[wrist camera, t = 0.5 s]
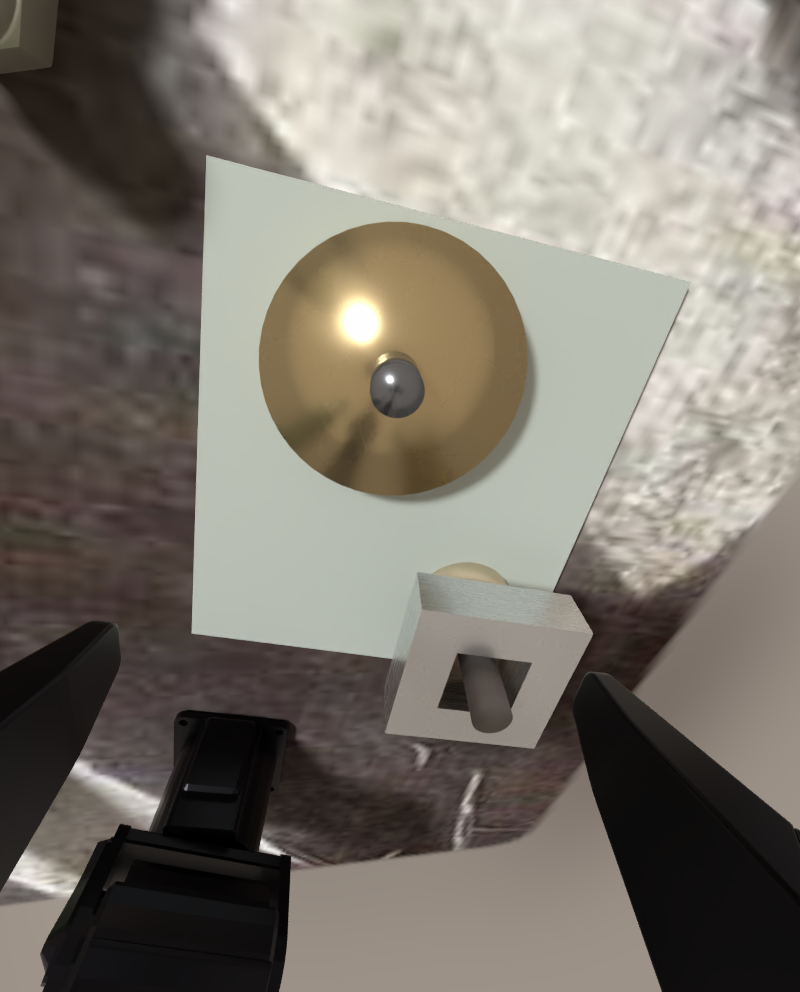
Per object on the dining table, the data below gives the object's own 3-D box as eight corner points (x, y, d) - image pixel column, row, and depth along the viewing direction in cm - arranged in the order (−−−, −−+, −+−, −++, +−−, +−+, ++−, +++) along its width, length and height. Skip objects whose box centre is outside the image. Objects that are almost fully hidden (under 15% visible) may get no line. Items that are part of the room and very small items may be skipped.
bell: (476, 497, 22) (496, 542, 18) (256, 458, 20) (232, 499, 17) (552, 262, 17) (597, 261, 14) (281, 192, 16) (254, 172, 13)
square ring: (519, 704, 24) (533, 748, 21) (383, 688, 23) (384, 733, 20) (570, 595, 21) (593, 633, 18) (416, 571, 20) (422, 609, 18)
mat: (514, 669, 27) (515, 674, 27) (194, 627, 25) (191, 633, 24) (684, 281, 18) (690, 282, 18) (210, 157, 16) (206, 155, 15)
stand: (493, 644, 26) (531, 766, 19) (405, 632, 25) (414, 754, 19) (522, 570, 24) (576, 681, 17) (427, 555, 23) (446, 664, 17)
